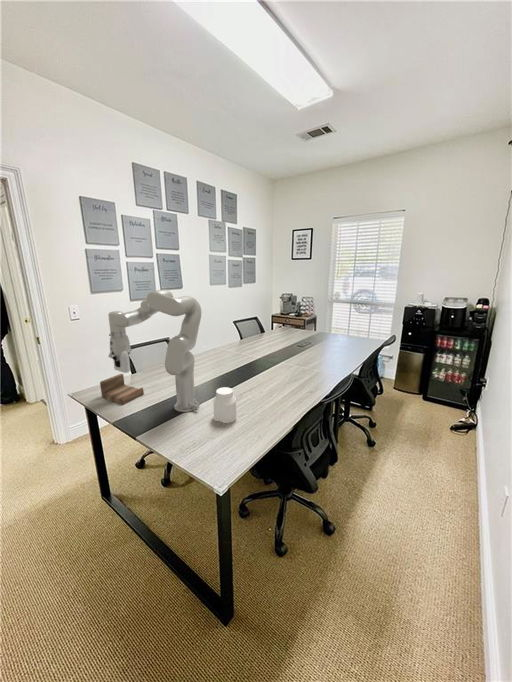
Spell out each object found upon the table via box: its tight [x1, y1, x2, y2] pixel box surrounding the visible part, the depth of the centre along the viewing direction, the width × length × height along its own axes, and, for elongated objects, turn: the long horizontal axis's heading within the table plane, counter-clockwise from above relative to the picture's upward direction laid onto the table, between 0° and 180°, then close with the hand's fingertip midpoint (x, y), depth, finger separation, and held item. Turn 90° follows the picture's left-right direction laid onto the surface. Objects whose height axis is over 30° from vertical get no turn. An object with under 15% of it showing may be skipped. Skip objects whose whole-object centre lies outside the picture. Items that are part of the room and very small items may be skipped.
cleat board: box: [99, 373, 145, 405], centre depth 163 cm, size 18×14×10 cm
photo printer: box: [112, 351, 131, 374], centre depth 157 cm, size 10×4×12 cm, turn 61°
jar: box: [212, 386, 238, 424], centre depth 140 cm, size 12×10×15 cm
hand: (121, 365), depth 158 cm, fingers closed on photo printer, 4 cm apart
